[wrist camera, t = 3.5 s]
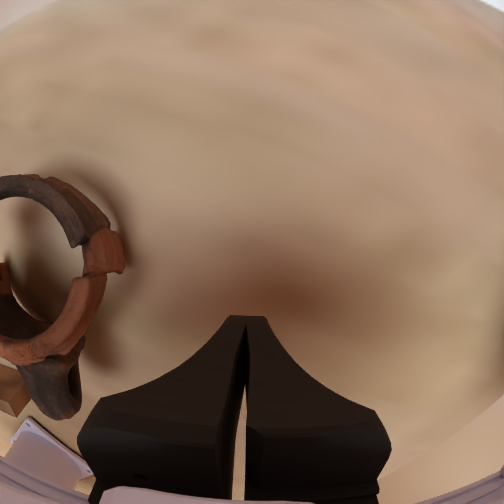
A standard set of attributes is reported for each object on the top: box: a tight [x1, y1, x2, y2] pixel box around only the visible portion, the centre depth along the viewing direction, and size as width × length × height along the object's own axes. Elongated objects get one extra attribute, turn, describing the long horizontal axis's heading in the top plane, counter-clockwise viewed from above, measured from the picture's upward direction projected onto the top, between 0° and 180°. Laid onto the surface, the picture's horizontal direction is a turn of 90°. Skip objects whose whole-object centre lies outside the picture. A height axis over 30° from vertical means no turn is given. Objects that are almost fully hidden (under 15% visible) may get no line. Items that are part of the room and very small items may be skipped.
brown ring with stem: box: [0, 174, 125, 420], centre depth 13 cm, size 12×10×8 cm
